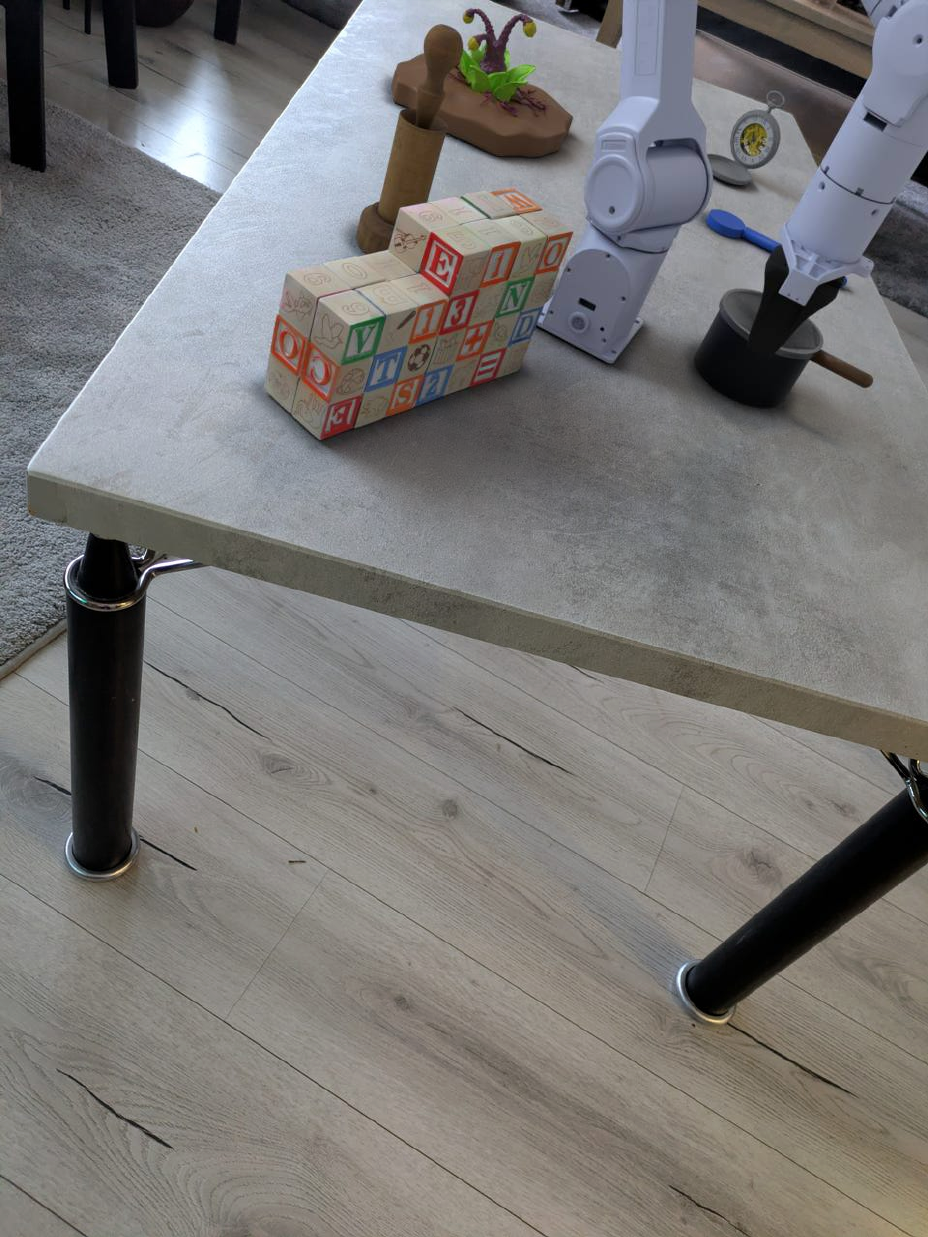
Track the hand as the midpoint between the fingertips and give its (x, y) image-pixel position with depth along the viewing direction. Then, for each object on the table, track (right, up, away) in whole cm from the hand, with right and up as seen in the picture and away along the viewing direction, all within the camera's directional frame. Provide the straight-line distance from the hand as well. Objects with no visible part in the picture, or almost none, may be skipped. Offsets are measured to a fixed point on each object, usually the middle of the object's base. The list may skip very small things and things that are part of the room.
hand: (759, 349), depth 77 cm
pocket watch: (+10, +35, +48) cm, 60 cm away
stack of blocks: (-28, -3, -4) cm, 28 cm away
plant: (-21, +37, +36) cm, 56 cm away
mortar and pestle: (-30, +11, +9) cm, 33 cm away
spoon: (+12, +20, +35) cm, 42 cm away
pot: (+4, 0, +12) cm, 13 cm away
